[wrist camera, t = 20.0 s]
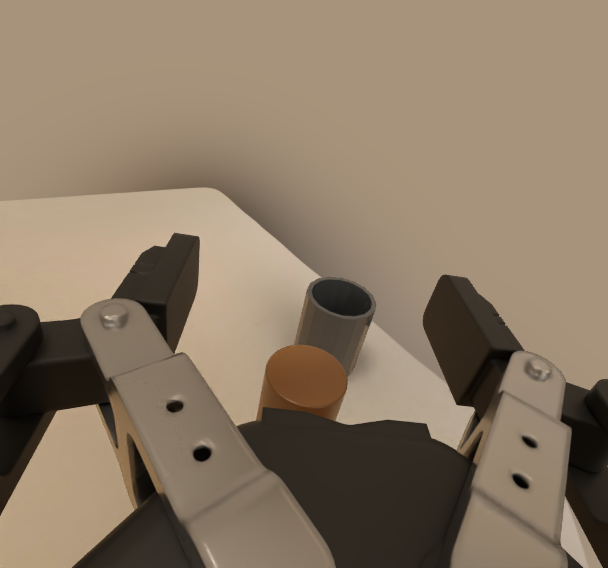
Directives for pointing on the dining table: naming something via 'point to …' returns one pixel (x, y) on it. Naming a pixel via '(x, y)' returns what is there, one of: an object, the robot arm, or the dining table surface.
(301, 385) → the cylinder
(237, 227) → the dining table surface
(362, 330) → the holder
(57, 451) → the dining table surface
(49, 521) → the dining table surface
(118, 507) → the dining table surface
